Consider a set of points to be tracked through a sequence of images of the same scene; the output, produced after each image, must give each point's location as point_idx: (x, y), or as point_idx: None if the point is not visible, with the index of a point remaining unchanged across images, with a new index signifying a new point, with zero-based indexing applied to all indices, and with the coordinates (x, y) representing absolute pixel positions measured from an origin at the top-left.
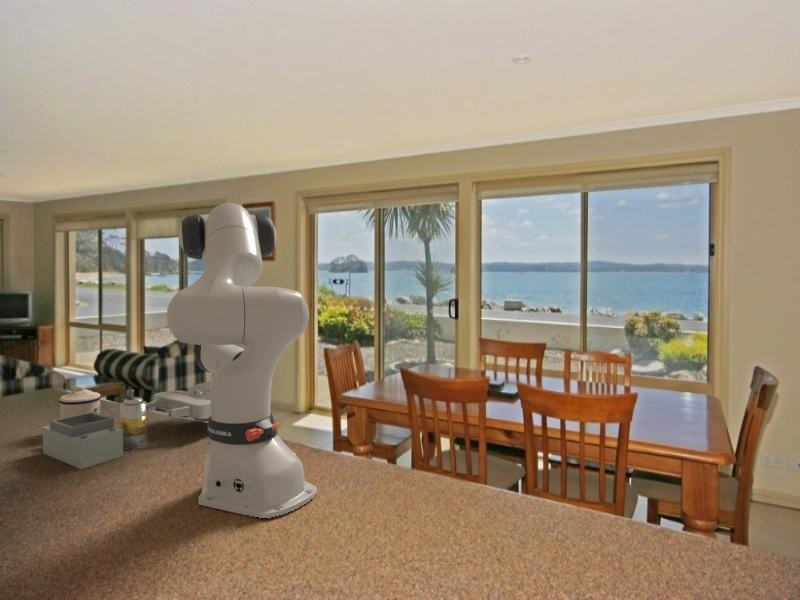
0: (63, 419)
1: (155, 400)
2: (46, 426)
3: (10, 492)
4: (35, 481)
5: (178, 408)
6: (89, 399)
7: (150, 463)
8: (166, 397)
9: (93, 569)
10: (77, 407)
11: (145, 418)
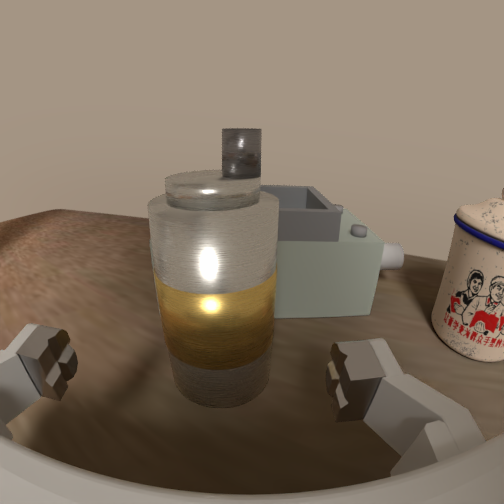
0: (310, 192)
1: (436, 404)
2: (346, 210)
3: None
4: None
5: (6, 355)
6: (470, 221)
7: (62, 315)
8: (399, 481)
9: (20, 222)
10: (454, 232)
11: (157, 287)
